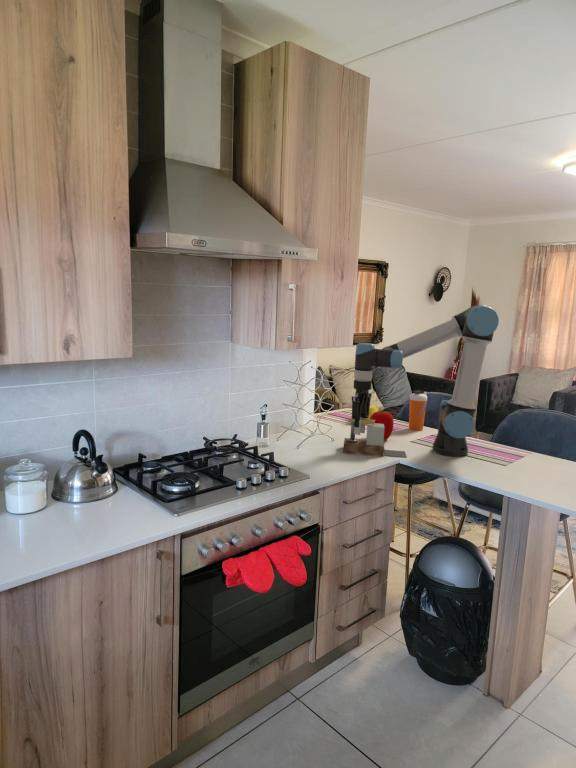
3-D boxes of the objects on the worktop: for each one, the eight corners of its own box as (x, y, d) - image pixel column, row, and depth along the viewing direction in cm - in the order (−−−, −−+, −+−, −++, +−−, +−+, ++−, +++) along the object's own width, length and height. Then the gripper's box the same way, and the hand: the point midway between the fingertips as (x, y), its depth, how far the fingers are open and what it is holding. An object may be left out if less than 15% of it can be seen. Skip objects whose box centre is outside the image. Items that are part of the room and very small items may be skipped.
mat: (404, 452, 231) (405, 451, 231) (406, 457, 222) (406, 457, 222) (384, 450, 232) (384, 449, 232) (384, 456, 223) (384, 455, 223)
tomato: (387, 443, 243) (389, 413, 241) (364, 439, 249) (366, 410, 247) (396, 438, 254) (398, 409, 252) (373, 434, 260) (375, 406, 257)
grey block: (382, 441, 231) (383, 423, 229) (383, 446, 224) (384, 427, 223) (366, 440, 232) (367, 422, 230) (366, 444, 225) (367, 426, 224)
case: (382, 449, 233) (383, 441, 232) (383, 456, 223) (384, 447, 222) (344, 446, 235) (344, 437, 234) (343, 452, 225) (343, 443, 225)
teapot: (356, 424, 281) (358, 405, 280) (352, 418, 294) (353, 400, 293) (382, 424, 282) (383, 406, 280) (376, 419, 295) (378, 401, 294)
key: (373, 441, 229) (375, 419, 227) (372, 444, 225) (374, 421, 223) (348, 439, 232) (349, 416, 230) (346, 441, 227) (348, 419, 226)
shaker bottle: (403, 428, 276) (406, 390, 272) (413, 426, 282) (416, 389, 278) (418, 432, 269) (421, 393, 266) (428, 429, 275) (431, 391, 272)
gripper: (364, 376, 232) (361, 428, 236) (345, 380, 220) (341, 435, 224) (379, 378, 228) (376, 431, 232) (361, 383, 215) (357, 439, 219)
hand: (359, 433), depth 228 cm, fingers closed on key, 3 cm apart
